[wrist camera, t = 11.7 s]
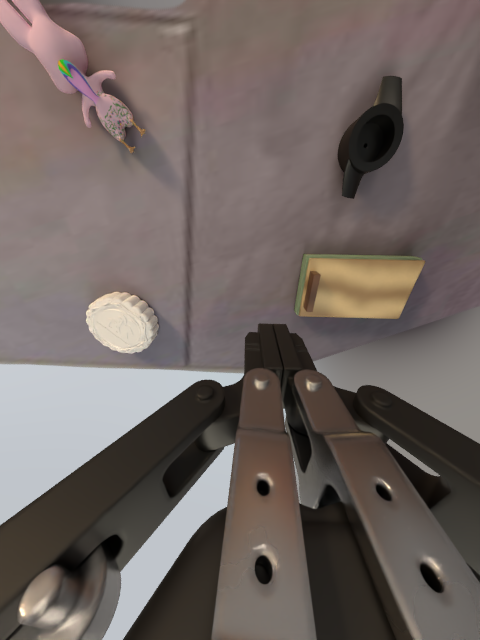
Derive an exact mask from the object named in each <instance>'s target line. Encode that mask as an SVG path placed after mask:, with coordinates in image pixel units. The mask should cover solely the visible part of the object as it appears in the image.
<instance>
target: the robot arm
mask: <svg viewBox="0 0 480 640" xmlns="http://www.w3.org/2000/svg"><path fill="white" fill-rule="evenodd" d="M283 409H285V411H286V420H285V423H284V415H283ZM285 427H286V430H285ZM286 431H287V432H286ZM389 439H391V440H392V441H393V442H395V443H396V444H398V445H399V446H400V447H402V448H403V449H405V450H406V451H407V452H409V453H410V454H411V455H413V456H414V457H416V458H417V459H418V460H420V461H421V462H423V463H424V464H425V465H427V466H428V467H430V468H431V469H432V470H434V471H435V472H436V473H438V474H439V475H440V476H439V477H437V476H433V475H430V474H428V473H426V472H424V471H423V470H421V469H420V468H419V467H418V466H416V465H415V464H414V463H412V462H411V461H410V460H408V459H407V458H406V457H404V456H403V455H402V454H400V453H399V452H398V451H396V450H395V449H393V448H392V447H391V446H389V445H388V444H387V441H388V440H389ZM233 443H235V447H234V455H233V464H232V472H231V480H230V488H229V496H228V505H227V507H226V508H224V509H222V510H220V511H218V512H217V513H215V514H214V515H213V516H211V517H210V518H209V519H208V520H207V521H206V522H205V523H203V524H202V525H201V526H200V528H199V529H198V530H197V531H196V532H195V534H194V535H193V536H192V537H191V539H190V540H189V542H188V543H187V544H186V546H185V547H184V549H183V551H182V552H181V553H180V555H179V557H178V558H177V559H176V561H175V562H174V564H173V566H172V567H171V569H170V570H169V571H168V573H167V574H166V576H165V577H164V579H163V580H162V582H161V583H160V585H159V586H158V588H157V589H156V591H155V592H154V594H153V595H152V597H151V598H150V600H149V602H148V603H147V604H146V606H145V607H144V609H143V610H142V612H141V613H140V615H139V616H138V618H137V619H136V621H135V622H134V624H133V625H132V627H131V628H130V630H129V631H128V633H127V634H126V636H125V637H124V639H123V640H480V444H479V443H477V442H475V441H473V440H472V439H470V438H468V437H467V436H465V435H463V434H461V433H460V432H458V431H456V430H454V429H453V428H451V427H449V426H447V425H446V424H444V423H442V422H440V421H439V420H437V419H435V418H433V417H432V416H430V415H428V414H426V413H425V412H423V411H421V410H419V409H418V408H416V407H414V406H413V405H411V404H409V403H407V402H406V401H404V400H402V399H400V398H398V397H397V396H395V395H393V394H391V393H390V392H388V391H386V390H384V389H382V388H379V387H376V386H371V385H366V386H361V387H360V388H359V389H358V391H357V393H354V392H351V391H347V390H343V389H340V388H337V387H334V386H333V385H332V383H331V382H330V381H329V379H328V378H327V377H326V376H324V375H323V374H321V373H319V372H317V370H316V368H315V365H314V363H313V361H312V359H311V357H310V355H309V353H308V350H307V348H306V347H305V344H304V342H303V340H302V338H300V337H299V336H298V335H297V334H296V333H289V330H288V328H287V325H286V324H258V332H249V333H248V334H247V336H246V337H245V365H244V376H243V378H242V379H241V380H240V381H239V382H237V383H235V384H233V385H229V386H225V387H222V386H221V384H220V383H218V382H216V381H214V380H201V381H198V382H196V383H194V384H193V385H191V386H190V387H189V388H187V389H186V390H185V391H183V392H182V393H180V394H179V395H178V396H176V397H175V398H174V399H173V400H171V401H169V402H168V403H167V404H165V405H164V406H163V407H161V408H160V409H159V410H157V411H156V412H155V413H153V414H152V415H150V416H149V417H148V418H146V419H145V420H144V421H142V422H141V423H140V424H138V425H137V426H135V427H134V428H133V429H131V430H130V431H128V432H127V433H126V434H124V435H123V436H122V437H120V438H119V439H118V440H116V441H115V442H113V443H112V444H111V445H109V446H108V447H107V448H105V449H104V450H103V451H101V452H100V453H99V454H97V455H96V456H94V457H93V458H92V459H90V460H89V461H88V462H86V463H85V464H84V465H82V466H81V467H79V468H78V469H77V470H75V471H74V472H73V473H71V474H70V475H68V476H67V477H66V478H64V479H63V480H62V481H60V482H59V483H58V484H56V485H55V486H53V487H52V488H51V489H49V490H48V491H47V492H46V493H44V494H43V495H41V496H40V497H39V498H37V499H36V500H34V501H33V502H32V503H30V504H29V505H28V506H26V507H25V508H23V509H22V510H21V511H19V512H18V513H17V514H15V515H14V516H13V517H11V518H10V519H8V520H7V521H6V522H5V523H3V524H2V525H0V640H102V638H103V637H104V635H105V633H106V631H107V629H108V628H109V625H110V623H111V621H112V618H113V616H114V613H115V611H116V608H117V604H118V600H119V596H120V589H121V575H120V572H121V570H122V569H123V568H124V567H125V565H126V564H127V563H128V562H129V561H130V559H131V558H132V557H133V556H134V555H135V554H136V553H137V551H138V550H139V549H140V548H141V547H142V545H143V544H144V543H145V542H146V541H147V539H148V538H149V537H150V536H151V535H152V534H153V532H154V531H155V530H156V529H157V528H158V526H159V525H160V524H161V523H162V522H163V521H164V519H165V518H166V517H167V516H168V515H169V513H170V512H171V511H172V510H173V508H174V507H175V506H176V505H177V504H178V503H179V501H180V500H181V499H182V498H183V497H184V495H185V494H186V493H187V492H188V491H189V490H190V488H191V487H192V486H193V485H194V484H195V483H196V481H197V480H198V479H199V478H200V477H201V475H202V474H203V473H204V472H205V471H206V469H207V468H208V467H209V466H210V464H212V462H213V461H214V460H215V459H216V458H217V456H218V455H219V454H220V453H221V452H222V450H223V449H224V447H225V446H228V445H231V444H233ZM293 458H294V461H295V465H296V468H297V472H298V477H299V490H300V499H301V504H300V503H299V500H298V492H297V484H296V476H295V469H294V461H293Z"/></svg>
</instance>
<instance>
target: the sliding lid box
mask: <svg viewBox="0 0 480 640" xmlns="http://www.w3.org/2000/svg"><path fill="white" fill-rule="evenodd" d="M309 258H334V259H386V260H422V258H418V257H414V256H382V255H328V254H303V260H302V266H301V272H300V278H299V284H298V290H297V296H296V302H295V308H294V311H295V313H296V315H299V311H300V305H301V300H302V294H303V289H304V283H305V278H306V272H307V267H308V261H309Z"/></svg>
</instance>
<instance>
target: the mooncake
mask: <svg viewBox="0 0 480 640" xmlns="http://www.w3.org/2000/svg"><path fill="white" fill-rule="evenodd" d="M86 315H87V317H88V318H87V319H86V322H87V324H88V325H89V330H90V332H92V334H93V335H94V337H95V338H96V339H97V340H99V342H101V343H102V344H103V345H104V346H108V347H109V348H110V349H111V350H114V351H119V352H121V353H126V352H127V353H130V354H132V353H135V352H141V351H142V350H143V349H146V348H148V346H149V345H150V344H151V342H152V341H153V340H154V338H155V337H156V336H157V334H158V332H157V330H158V329H159V325H158V323H157V322H158V318H157V317H156V316H155V315H154V310H153V309H152V308H150V307H148V304H147V303H146V302H145V301H141V300H140V298H139V297H137V296H135V295H132V296H131V295H130V294H129V293H126V292H123V293H120V292H113V293H111V294H106V295H104V296H102V297H100V298H98V299H97V300H95V302H93V303H91V304H90V305H89V310H87V312H86Z"/></svg>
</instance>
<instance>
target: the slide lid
mask: <svg viewBox="0 0 480 640" xmlns="http://www.w3.org/2000/svg"><path fill="white" fill-rule="evenodd" d="M424 263H425V261H424V260H386V259H334V258H309V261H308V267H307V272H306V278H305V283H304V289H303V294H302V300H301V305H300V311H299V316H308V317H349V318H389V319H399V316H400V314H401V312H402V310H403V308H404V306H405V304H406V302H407V299H408V297H409V295H410V293H411V291H412V289H413V287H414V285H415V282H416V280H417V278H418V276H419V274H420V272H421V270H422V268H423V265H424Z"/></svg>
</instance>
